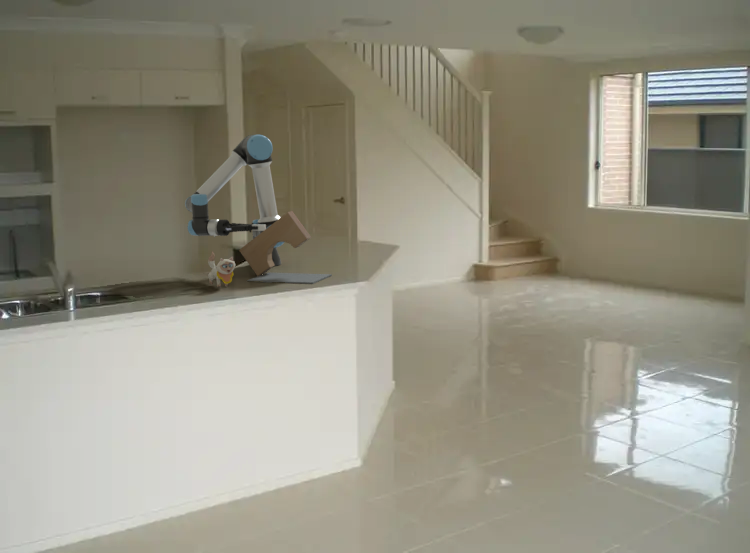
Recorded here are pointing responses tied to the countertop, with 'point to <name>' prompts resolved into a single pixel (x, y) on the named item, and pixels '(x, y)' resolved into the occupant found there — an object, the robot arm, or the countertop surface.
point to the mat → (291, 278)
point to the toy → (221, 270)
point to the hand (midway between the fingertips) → (265, 227)
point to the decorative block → (274, 242)
